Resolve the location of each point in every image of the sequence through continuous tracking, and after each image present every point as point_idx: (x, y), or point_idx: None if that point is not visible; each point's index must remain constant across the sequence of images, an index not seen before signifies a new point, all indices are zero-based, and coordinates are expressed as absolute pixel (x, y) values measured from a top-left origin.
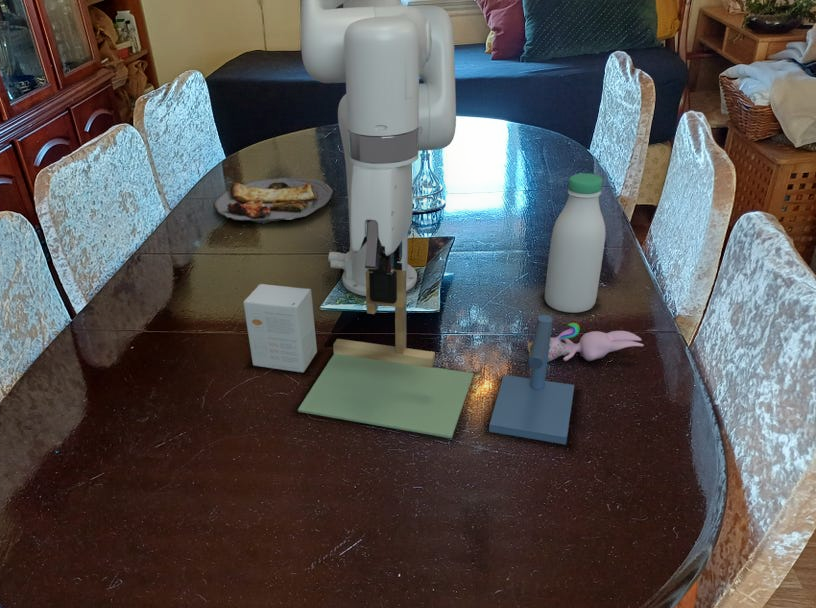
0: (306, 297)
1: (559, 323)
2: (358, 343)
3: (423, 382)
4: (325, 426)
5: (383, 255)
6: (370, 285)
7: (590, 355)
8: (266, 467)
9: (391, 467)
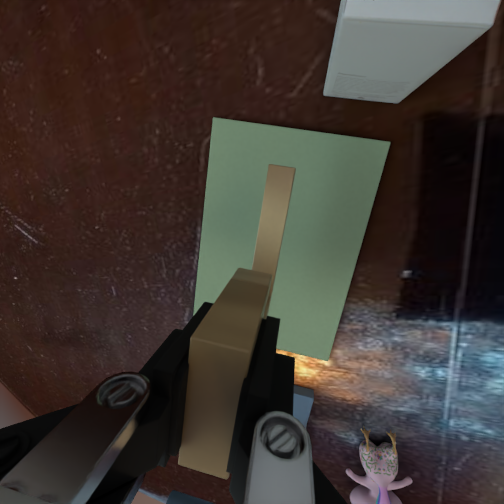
0: (432, 28)
1: (474, 478)
2: (278, 218)
3: (299, 297)
4: (189, 170)
5: (246, 464)
6: (185, 329)
7: (352, 499)
8: (96, 107)
9: (134, 263)
